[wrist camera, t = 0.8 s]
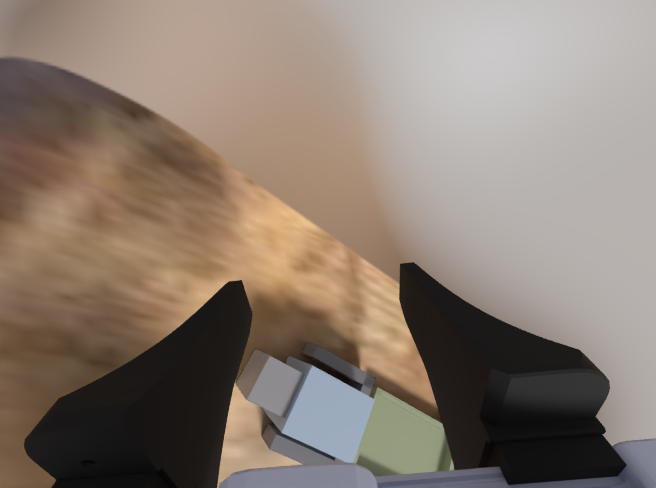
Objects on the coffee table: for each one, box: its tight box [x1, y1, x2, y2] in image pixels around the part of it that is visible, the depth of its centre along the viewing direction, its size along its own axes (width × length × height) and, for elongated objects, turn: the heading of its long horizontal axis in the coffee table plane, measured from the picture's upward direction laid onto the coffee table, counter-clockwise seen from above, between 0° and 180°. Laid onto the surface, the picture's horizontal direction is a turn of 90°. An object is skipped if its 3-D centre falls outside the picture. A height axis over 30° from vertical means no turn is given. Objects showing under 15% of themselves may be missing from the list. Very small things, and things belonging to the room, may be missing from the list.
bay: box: [262, 343, 376, 464], centre depth 24 cm, size 8×6×2 cm
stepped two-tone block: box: [236, 349, 375, 463], centre depth 22 cm, size 4×9×6 cm, turn 62°
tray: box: [353, 386, 454, 477], centre depth 27 cm, size 7×12×2 cm, turn 62°
